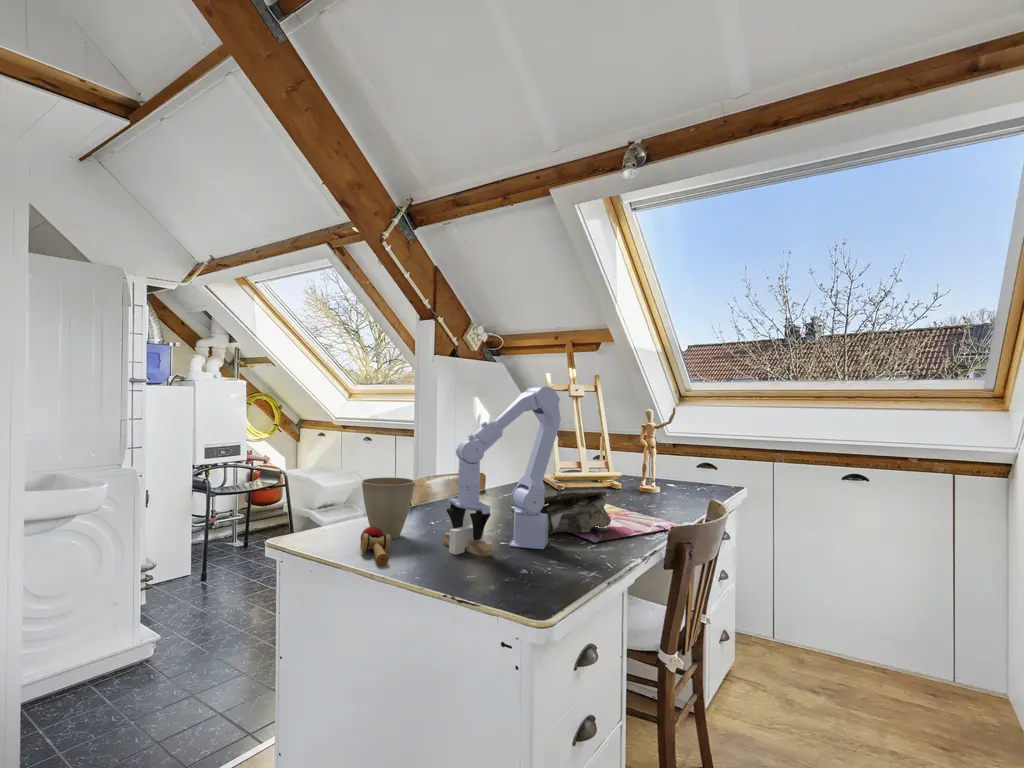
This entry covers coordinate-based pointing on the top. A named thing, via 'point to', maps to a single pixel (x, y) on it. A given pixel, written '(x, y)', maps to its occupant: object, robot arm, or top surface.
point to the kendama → (376, 543)
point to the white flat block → (461, 539)
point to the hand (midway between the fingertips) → (467, 536)
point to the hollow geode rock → (576, 512)
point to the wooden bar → (474, 546)
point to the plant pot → (388, 503)
